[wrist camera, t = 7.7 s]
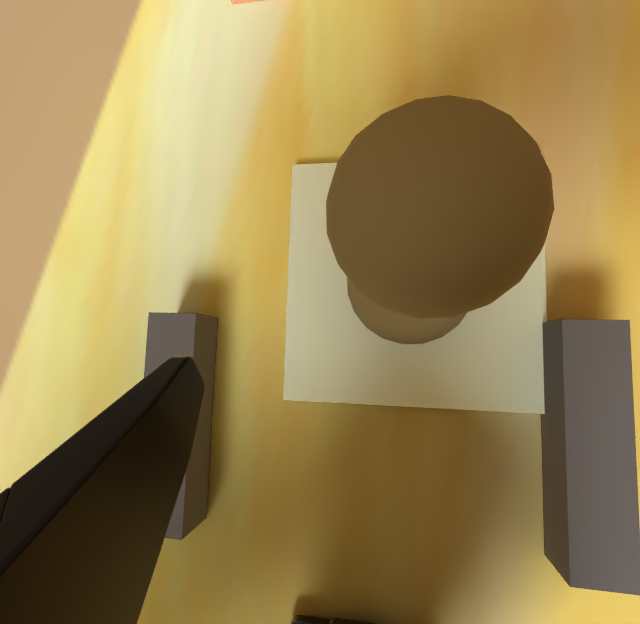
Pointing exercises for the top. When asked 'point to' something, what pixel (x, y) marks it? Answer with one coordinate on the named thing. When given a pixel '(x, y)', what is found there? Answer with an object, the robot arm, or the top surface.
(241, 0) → the off strip
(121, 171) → the top surface
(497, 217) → the cork
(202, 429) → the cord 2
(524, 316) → the pad
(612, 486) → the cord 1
